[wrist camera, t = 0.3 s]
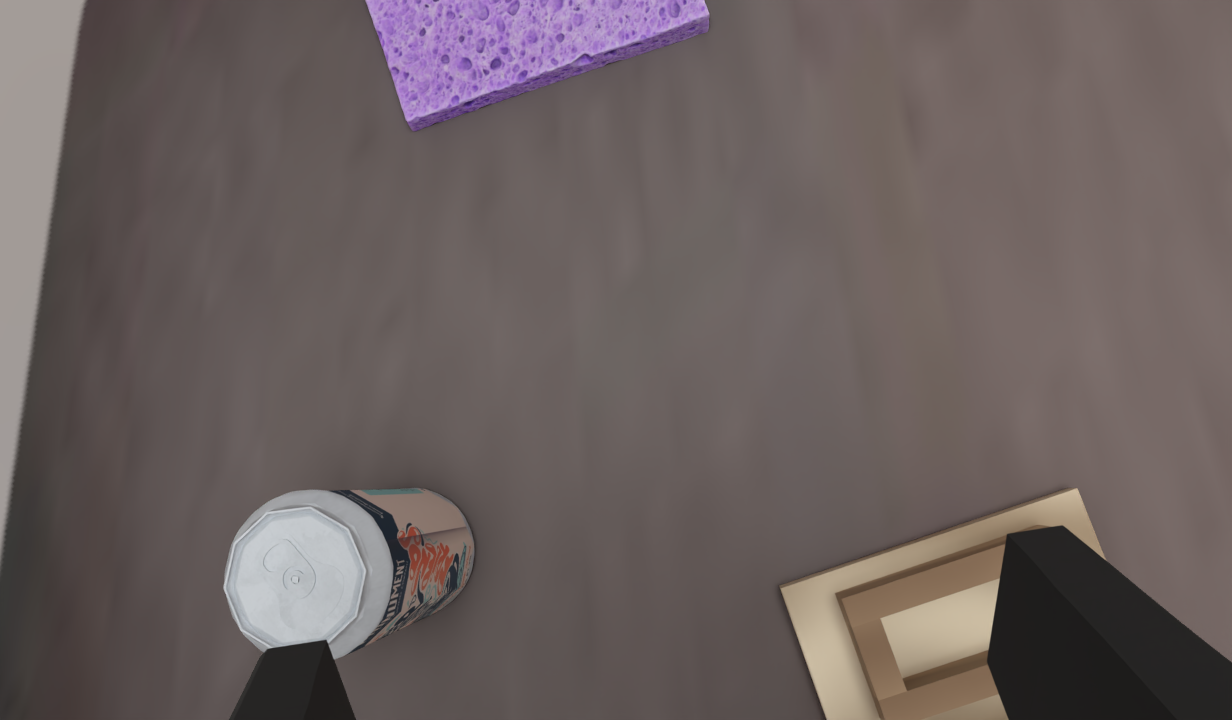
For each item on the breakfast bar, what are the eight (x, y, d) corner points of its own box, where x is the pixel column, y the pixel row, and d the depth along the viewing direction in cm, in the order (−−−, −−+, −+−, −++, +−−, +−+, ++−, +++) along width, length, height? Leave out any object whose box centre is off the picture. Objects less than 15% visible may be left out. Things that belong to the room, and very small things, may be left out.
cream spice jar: (410, 642, 40) (285, 709, 29) (328, 548, 41) (173, 575, 29) (503, 554, 41) (418, 584, 29) (420, 461, 41) (303, 453, 29)
